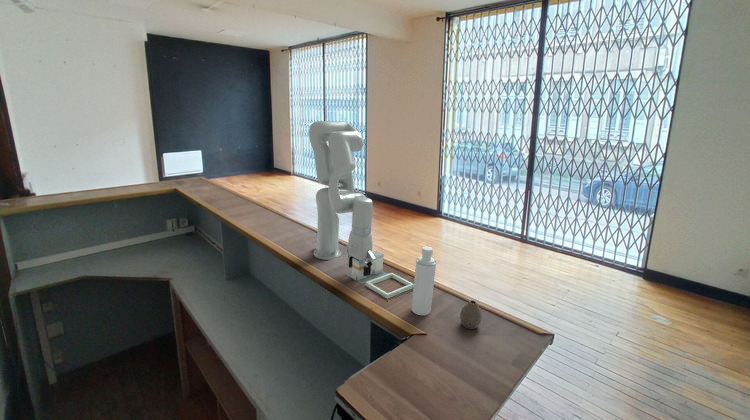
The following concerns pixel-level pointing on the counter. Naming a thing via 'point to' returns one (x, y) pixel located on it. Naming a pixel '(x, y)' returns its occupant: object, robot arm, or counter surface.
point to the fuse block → (368, 277)
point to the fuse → (378, 262)
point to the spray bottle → (424, 282)
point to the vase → (471, 315)
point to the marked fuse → (358, 268)
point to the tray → (393, 293)
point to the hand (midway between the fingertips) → (359, 270)
